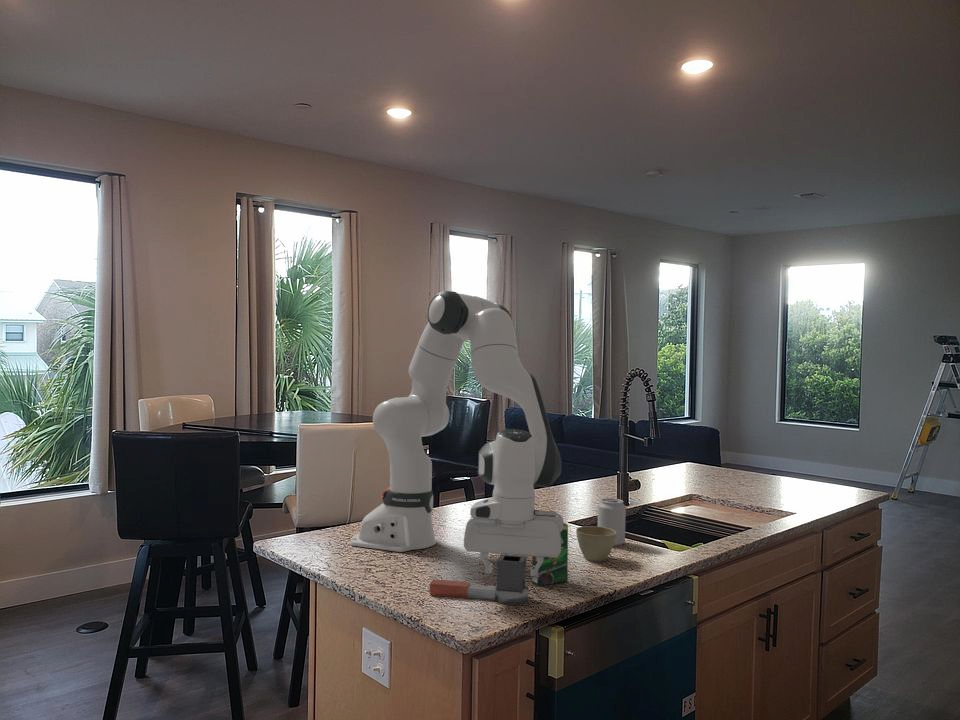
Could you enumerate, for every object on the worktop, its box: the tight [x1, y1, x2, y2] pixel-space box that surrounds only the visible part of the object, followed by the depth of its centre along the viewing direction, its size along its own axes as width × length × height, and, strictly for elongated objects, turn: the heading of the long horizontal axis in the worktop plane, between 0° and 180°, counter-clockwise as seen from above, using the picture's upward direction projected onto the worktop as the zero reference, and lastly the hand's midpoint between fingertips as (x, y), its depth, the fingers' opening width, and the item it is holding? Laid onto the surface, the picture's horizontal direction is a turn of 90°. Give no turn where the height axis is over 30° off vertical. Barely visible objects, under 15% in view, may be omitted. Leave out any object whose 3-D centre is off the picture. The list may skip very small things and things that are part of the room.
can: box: [597, 497, 627, 547], centre depth 196 cm, size 8×8×12 cm
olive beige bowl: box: [575, 525, 616, 562], centre depth 180 cm, size 10×10×7 cm
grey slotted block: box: [495, 554, 527, 593], centre depth 149 cm, size 5×5×6 cm
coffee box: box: [531, 522, 569, 587], centre depth 160 cm, size 8×3×13 cm, turn 114°
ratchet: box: [429, 578, 529, 606], centre depth 150 cm, size 20×7×6 cm, turn 80°
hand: (511, 574), depth 149 cm, fingers open, 8 cm apart
